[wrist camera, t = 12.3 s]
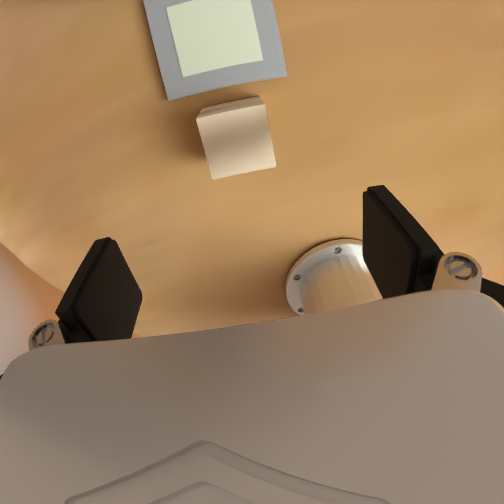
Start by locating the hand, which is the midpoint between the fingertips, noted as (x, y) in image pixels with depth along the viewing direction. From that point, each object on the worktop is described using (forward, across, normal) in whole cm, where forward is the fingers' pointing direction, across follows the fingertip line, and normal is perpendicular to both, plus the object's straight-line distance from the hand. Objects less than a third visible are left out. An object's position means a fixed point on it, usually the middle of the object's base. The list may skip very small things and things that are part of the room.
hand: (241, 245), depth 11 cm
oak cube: (+18, 0, 0) cm, 18 cm away
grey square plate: (+18, 0, -9) cm, 20 cm away
